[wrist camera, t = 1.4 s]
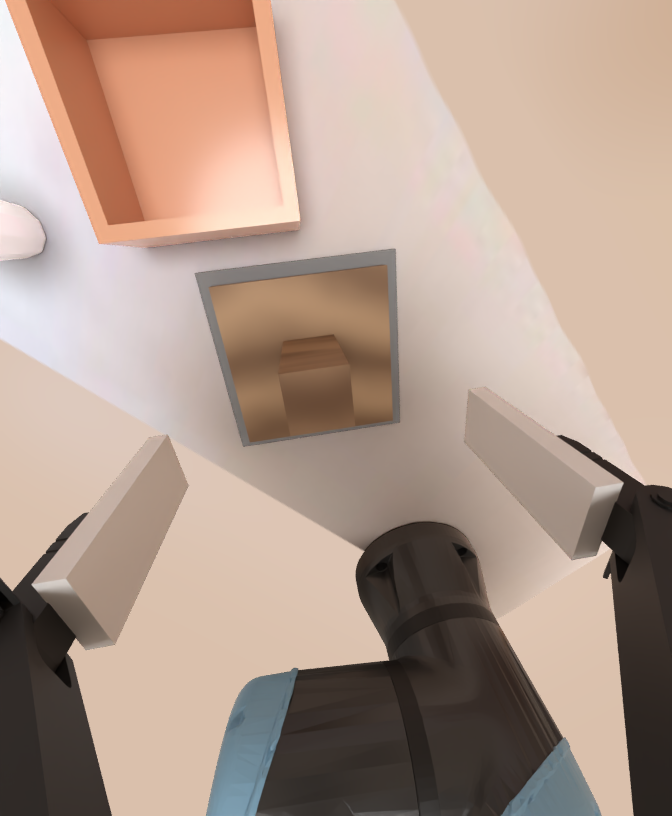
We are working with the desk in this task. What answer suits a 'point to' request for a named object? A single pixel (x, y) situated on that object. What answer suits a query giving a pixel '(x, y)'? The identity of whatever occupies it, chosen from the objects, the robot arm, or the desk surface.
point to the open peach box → (166, 115)
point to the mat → (293, 270)
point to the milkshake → (19, 233)
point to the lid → (308, 350)
